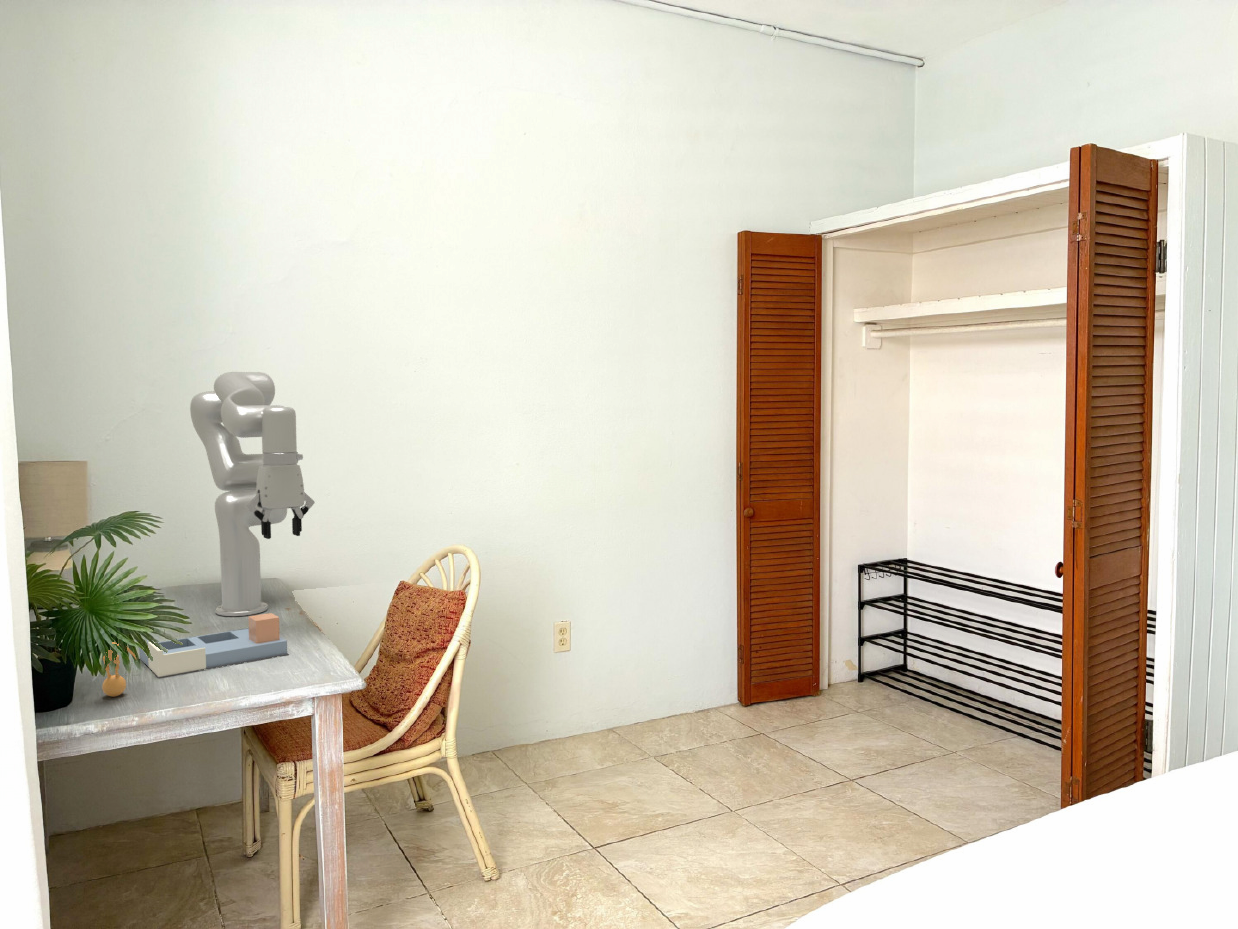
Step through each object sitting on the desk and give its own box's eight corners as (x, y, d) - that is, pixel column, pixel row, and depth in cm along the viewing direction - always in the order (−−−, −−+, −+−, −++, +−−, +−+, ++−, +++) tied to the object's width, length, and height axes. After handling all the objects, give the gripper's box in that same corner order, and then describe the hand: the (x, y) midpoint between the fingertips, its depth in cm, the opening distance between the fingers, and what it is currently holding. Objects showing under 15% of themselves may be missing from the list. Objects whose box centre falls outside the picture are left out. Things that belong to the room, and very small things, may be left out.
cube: (248, 638, 203) (248, 616, 202) (271, 635, 206) (271, 613, 206) (256, 643, 199) (255, 621, 198) (279, 639, 202) (279, 617, 202)
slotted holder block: (139, 658, 198) (138, 633, 197) (262, 638, 214) (261, 615, 214) (159, 678, 185) (158, 651, 184) (288, 655, 201) (288, 630, 201)
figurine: (141, 690, 177) (138, 629, 176) (135, 700, 171) (132, 637, 170) (92, 695, 175) (89, 632, 174) (84, 705, 169) (82, 641, 168)
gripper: (310, 457, 222) (312, 531, 223) (236, 460, 211) (238, 538, 213) (322, 459, 216) (324, 535, 218) (246, 462, 205) (249, 542, 207)
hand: (281, 536), depth 215 cm, fingers open, 6 cm apart
